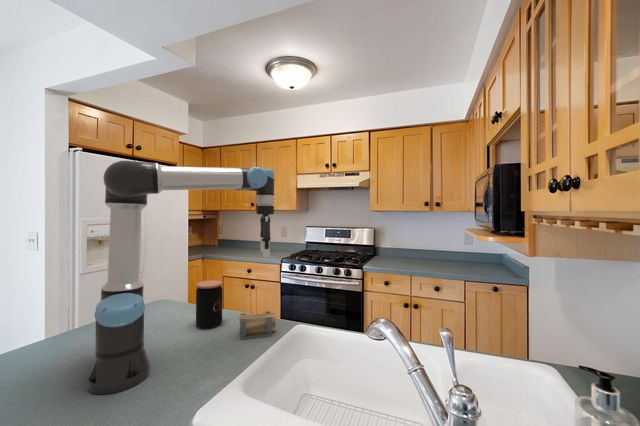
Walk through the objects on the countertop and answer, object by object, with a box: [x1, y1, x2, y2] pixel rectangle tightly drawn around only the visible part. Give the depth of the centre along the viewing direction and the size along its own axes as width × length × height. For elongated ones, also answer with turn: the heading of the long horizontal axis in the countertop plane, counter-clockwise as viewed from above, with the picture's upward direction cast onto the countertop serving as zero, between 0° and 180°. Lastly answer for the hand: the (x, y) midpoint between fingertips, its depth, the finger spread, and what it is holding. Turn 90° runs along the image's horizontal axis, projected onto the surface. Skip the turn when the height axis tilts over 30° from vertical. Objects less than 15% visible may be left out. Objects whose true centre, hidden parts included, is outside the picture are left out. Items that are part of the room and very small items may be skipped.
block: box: [239, 312, 277, 334], centre depth 114 cm, size 4×14×6 cm, turn 106°
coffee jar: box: [195, 279, 223, 330], centre depth 122 cm, size 11×11×18 cm
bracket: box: [239, 310, 273, 341], centre depth 114 cm, size 9×12×7 cm
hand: (264, 254), depth 122 cm, fingers open, 13 cm apart
